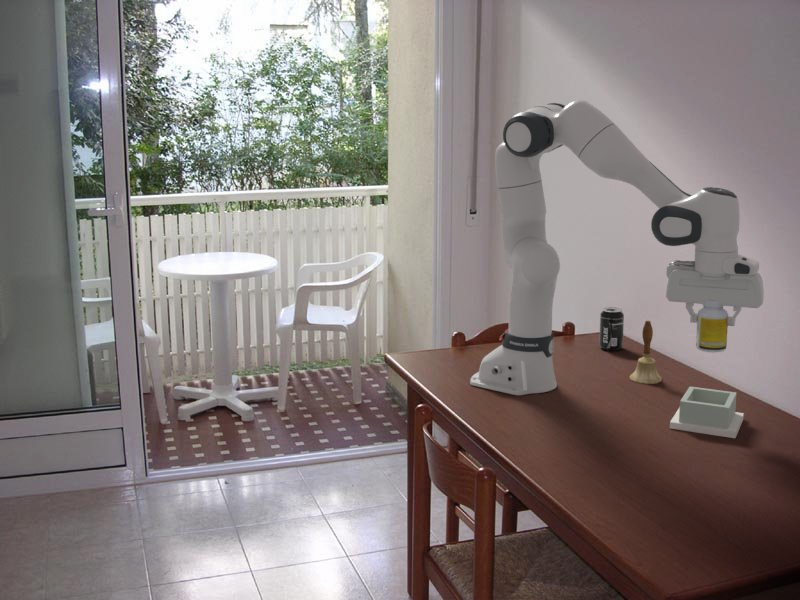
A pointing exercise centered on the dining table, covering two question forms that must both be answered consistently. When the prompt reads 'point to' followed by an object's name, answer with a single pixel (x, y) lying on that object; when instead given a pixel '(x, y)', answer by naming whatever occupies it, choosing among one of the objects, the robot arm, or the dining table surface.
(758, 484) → the dining table surface
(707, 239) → the robot arm
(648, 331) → the hand bell
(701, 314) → the pill bottle
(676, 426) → the well block
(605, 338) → the beverage can
